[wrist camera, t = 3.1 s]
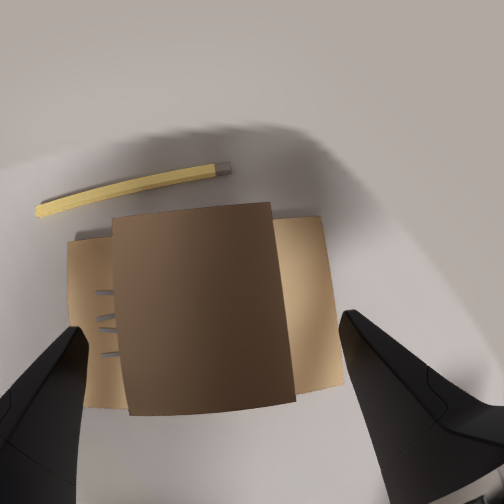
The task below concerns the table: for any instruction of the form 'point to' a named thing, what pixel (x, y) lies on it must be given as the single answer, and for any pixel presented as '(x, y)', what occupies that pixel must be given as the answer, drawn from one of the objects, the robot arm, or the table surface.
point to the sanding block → (200, 311)
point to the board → (295, 299)
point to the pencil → (133, 187)
